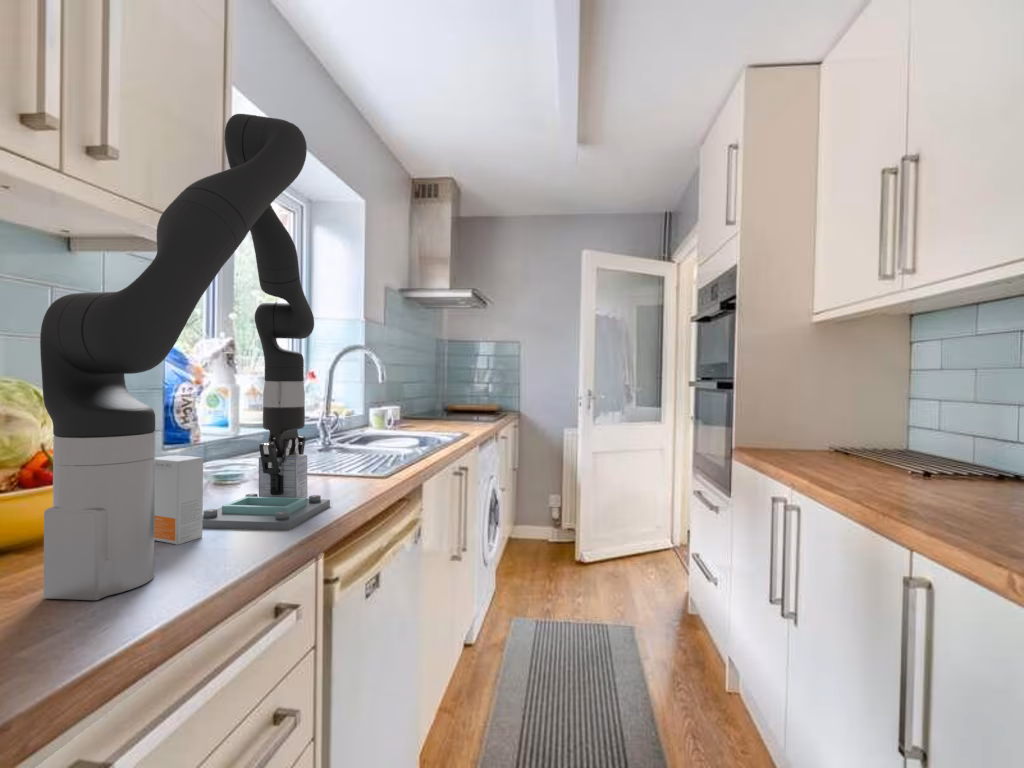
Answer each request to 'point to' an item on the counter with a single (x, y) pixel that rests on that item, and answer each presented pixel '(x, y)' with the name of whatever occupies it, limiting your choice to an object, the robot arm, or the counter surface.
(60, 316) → the robot arm
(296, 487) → the medicine box
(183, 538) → the skincare box
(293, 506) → the baseplate
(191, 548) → the counter surface
